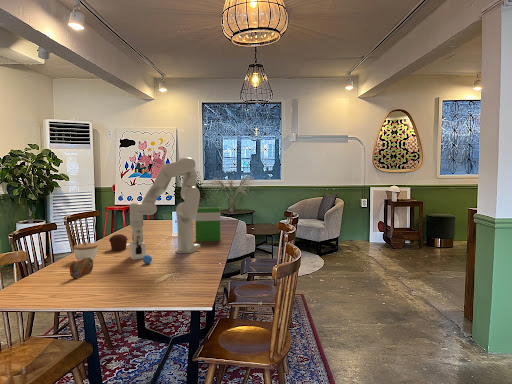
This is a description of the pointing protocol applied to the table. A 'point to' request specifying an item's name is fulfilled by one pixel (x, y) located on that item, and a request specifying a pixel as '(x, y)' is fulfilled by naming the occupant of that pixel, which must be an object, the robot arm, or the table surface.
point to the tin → (81, 267)
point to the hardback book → (208, 224)
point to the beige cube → (133, 251)
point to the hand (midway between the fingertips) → (137, 252)
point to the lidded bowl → (85, 250)
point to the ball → (147, 259)
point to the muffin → (118, 242)
